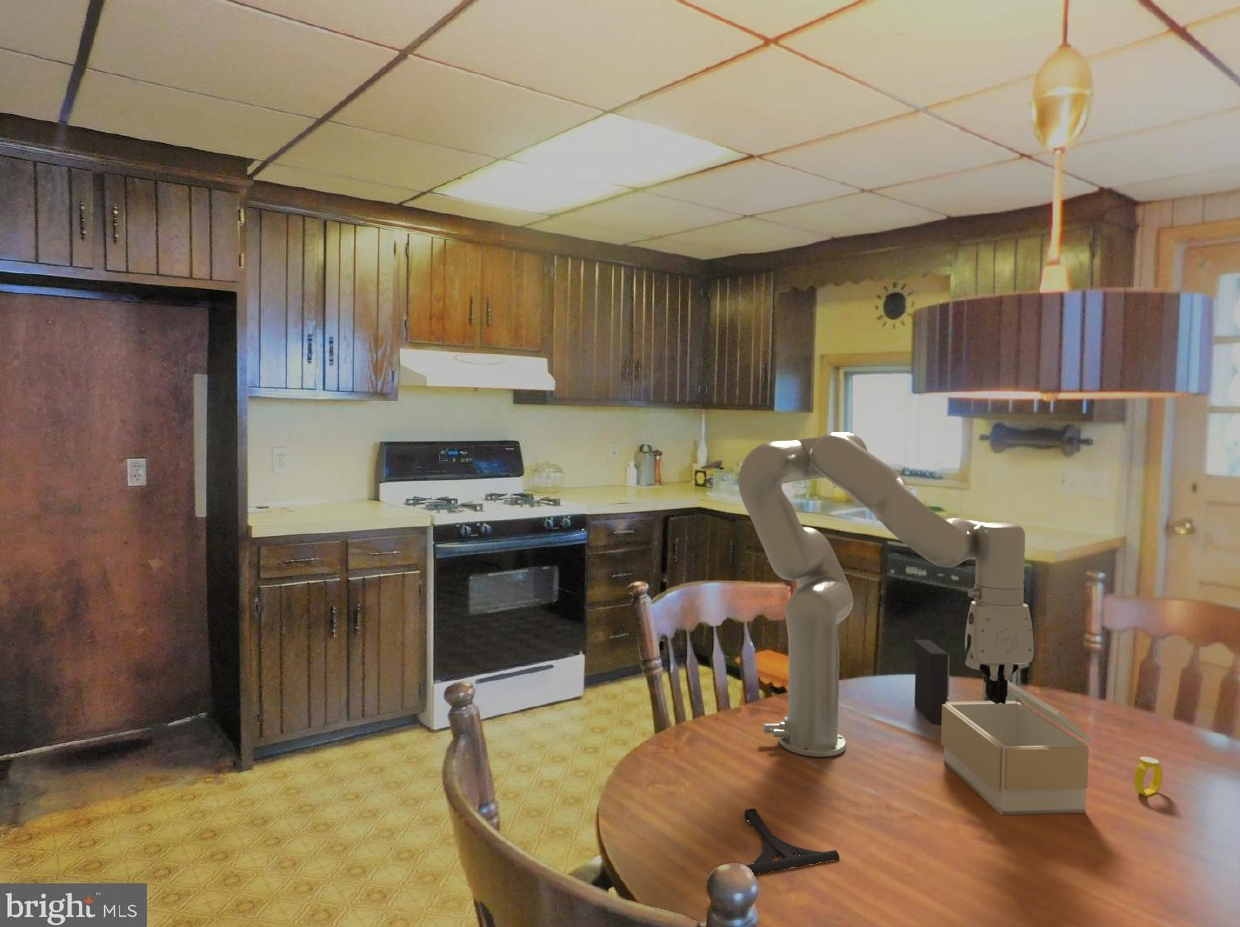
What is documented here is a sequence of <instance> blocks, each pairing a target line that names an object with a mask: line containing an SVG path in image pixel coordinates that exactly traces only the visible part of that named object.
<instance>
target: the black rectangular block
mask: <svg viewBox="0 0 1240 927" xmlns="http://www.w3.org/2000/svg"><path fill="white" fill-rule="evenodd" d="M912 644H913V646H912V656H913V658H914V660H915V671H914V672H915V674H914V675H915V676H914V679H915V680H914V707H915V708H916V709H917V710H918V711H919V713H921V714H922V715H923V716H924V717H925V719H927V721H928V722H929V723H930V724H932V725H942V704H945V702H950V700H949V698H948V697H950V678H951V677H950V674H949V673H950V672H949V671H950V655H949V653H948V652H947V651H945V650H944V649H942V648H941V647H939V645H937V644H936V643H935V642H933V641H932V640H931V639H913V643H912Z"/></svg>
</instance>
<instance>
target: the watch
mask: <svg viewBox="0 0 1240 927" xmlns="http://www.w3.org/2000/svg"><path fill="white" fill-rule="evenodd" d="M1150 767H1151V768H1152V769H1153V770H1152V773H1153V774H1152V779H1151V783H1150V784H1149V786H1148V788H1146V789H1145V788H1144V778H1145V775H1146V772H1147V771H1148V770H1149V768H1150ZM1133 777H1134V778H1133V779H1134V780H1133V785H1134V790H1135V791H1136V792H1137V793H1138V794H1139V795H1141V796H1143V795H1144V796H1143V797H1149V796H1152V795H1154V794H1155V795H1156V794H1157V793H1158V791H1159V790H1160V788H1161V785H1162V782H1163V769H1162V766H1161V763H1160V761H1159V760H1158V759H1156V758H1153V757H1149V756H1140V757H1139V764H1138V765H1137V767H1136V770H1135V772H1134V776H1133Z"/></svg>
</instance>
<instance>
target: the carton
mask: <svg viewBox="0 0 1240 927" xmlns="http://www.w3.org/2000/svg"><path fill="white" fill-rule="evenodd" d="M940 732H941V734H940V744H941V745H942V746H943V748H944V749H943V763H945V765H947V767H949V768H950V769H951V770H952V771H953V772H954V773H955V774H956V775H957V776H959V777H960V778H961V780H963V782H965V783H966V784H967V785H968V786H969V787H970V788H971V789H972V790H974V791H975V792H976V793H977V794H978V795H979V796H980V797H981V798H982V799H983V800H984V801H986V802H987V803H988V804H989V805H990V806H991V807H992V808H993V809H994V810H995V811H996V812H998V814H1000V815H1001V816H1010V815H1011V816H1012V815H1013V816H1014V815H1015V816H1016V815H1018V816H1019V815H1045V814H1046V815H1047V814H1051V815H1053V814H1056V815H1057V814H1083V813H1086V810H1087V809H1086V806H1087V805H1086V804H1087V789H1088V778H1089V777H1088V776H1089V752H1090V750H1089V749H1090V748H1089V746H1088V745H1087V744H1085V743H1084V742H1083V741H1081V740H1079V739H1078V738H1076V737H1074V735H1071V734H1070V733H1068V732H1066V731H1065V730H1063V729H1062V728H1060V727H1059V726H1057V725H1055V724H1054V723H1052V722H1051V721H1049V720H1048V719H1046V718H1044V717H1043V716H1041V715H1040V714H1038V713H1036V711H1033V710H1032V709H1030V708H1029V707H1027V706H1026V705H1024V704H1022V703H1021V702H1020V701H1019V702H1016V701H1006V703H1005V704H1001V703H999V704H995V703H994V702H992V701H983V700H982V701H981V700H979V701H978V700H977V701H973V700H971V701H949V702H945V704H942V724H941V730H940Z"/></svg>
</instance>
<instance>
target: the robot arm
mask: <svg viewBox="0 0 1240 927" xmlns="http://www.w3.org/2000/svg"><path fill="white" fill-rule="evenodd" d="M867 448H868V447H867V446H866V444H865V442H864V441H863V439H862V438H860V437H859V436H858V435H856V434H854V433H851V432H846V431H841V432H840V431H839V432H835V431H834V432H829V433H825V434H823V435H822V436H818V437H817V436H816V437H815V436H814V437H807V438H800V439H799V438H798V439H792V440H773V441H767V442H764V443H761V444H759V445H757V446H756V447H754V448H753V449H752V450H750V452H749V453H748V454H747V455H746V456H745V458H744V460H743V462H742V464H741V466H740V468H739V472H738V481H737V482H738V490H739V494H740V499H741V500H742V503H743V505H744V507H745V509H746V511H747V513H748V516H749V517H750V519H751V522H752V524H753V526H754V529H755V532H756V534H757V536H758V539H759V541H760V543H761V546H762V548H763V550H764V553H765V555H766V557H767V559H768V562H769V564H770V567H771V568H772V570H773V572H774V573H775V574H776V575H777V576H778V577H780V578H781V579H783V580H787V581H798V584H799V586H800V587H798V588H796V590H795V591H793V592H792V594H791V595H790V596H789V599H788V600H787V603H786V608H785V621H786V628H787V629H786V630H787V637H788V639H787V640H788V684H787V685H788V686H787V687H788V689H787V693H788V694H787V695H788V696H787V716H783V720H781V721H779V722H778V723H773V722H764V723H763V724H762V729H763V733H764V734H772V737H773V738H779V744H780V745H781V746H782V747H783V748H785V749H786V750H787V751H789V752H792V753H794V754H798V755H802V756H805V757H812V758H813V757H814V758H827V757H833V756H837V755H840V754H842V753H844V751H845V750H846V748H847V741H846V739H845V738H844V737H843V736H842V735H841V734H839V732H838V731H839V693H840V692H839V690H840V689H839V688H840V687H839V686H840V685H839V684H840V683H839V682H840V677H839V676H840V647H839V646H840V645H839V639H838V633H837V632H838V630H837V628H838V627H837V626H838V624H839V623H841V622H843V621H844V620H845V619H846V618H847V617H848V616H849V615H850V614H851V612H852V609H853V605H854V597H853V596H854V595H853V592H852V589H851V586H850V584H849V581H848V580H847V577H846V575H845V572H844V571H843V569H842V567H841V564H840V562H839V560H838V557H837V555H836V553H835V551H834V549H833V547H832V545H831V542H829V540H828V539H827V538H826V536H824V535H823V533H822V532H820V531H819V530H818V529H815V528H813V527H808V526H802V523H801V521H800V520H799V518H798V515H797V513H796V510H795V508H794V506H793V504H792V503H791V501H790V500H789V499H788V497H787V496H786V494H785V492H784V491H783V485H784V484H789V483H795V482H800V481H801V482H802V481H809V480H818V479H826V480H827V481H830V482H831V483H833V485H835V486H837V488H839V489H841V490H842V491H843V492H844V493H846V494H847V495H849V496H850V497H851V498H853V499H854V500H856V501H857V502H858V503H860V504H861V505H862V506H863V507H865V508H866V509H867V510H869V511H870V512H871V513H872V514H873V515H874V516H875V518H876V519H877V520H878V521H879V522H880V523H882V525H883V526H884V527H885V528H886V529H887V530H888V531H889V532H890V533H891V535H893V536H895V537H896V539H898V540H900V542H902V543H903V544H905V545H906V547H909V548H910V549H911V550H912V551H914V552H916V554H918V555H919V556H920V557H922V558H923V559H925V560H927V561H928V562H930V563H932V564H934V565H936V566H938V567H944V568H952V567H956V566H958V565H960V564H962V563H963V562H964V561H967V560H968V561H969V560H975V578H974V579H975V580H974V582H975V583H974V584H973V588H969V589H968V590H967V596H968V597H969V598H973V599H974V600H972V601H971V602H970V603H971V604H970V606H969V610H968V614H967V619H966V626H965V633H964V634H965V636H964V652H965V655H966V659H965V666H966V667H968V668H970V669H973V670H977V671H980V672H981V673H982V674H983V676H984V675H985V676H986V695H987V698H988V699H989V700H991V701H992V702H994V703H995V704H999V703H1001V704H1005V703H1006V697H1007V690H1008V681H1009V680H1010V679H1011V676H1012V675H1013V674H1014V673H1015V672H1016V670H1017V669H1021V670H1022V669H1025V668H1029V666H1030V663H1031V662H1032V661H1033V658H1034V635H1033V634H1034V633H1033V624H1032V623H1033V622H1032V617H1031V612H1030V607H1029V605H1028V603H1027V604H1026V603H1024V594H1025V592H1024V587H1025V584H1024V583H1025V561H1026V560H1025V555H1026V554H1025V552H1026V532H1025V530H1024V528H1023V527H1022V526H1021V525H1019V524H1015V523H1009V522H982V521H975V520H971V519H965V518H959V517H957V518H956V517H952V518H946V519H945V518H944V517H942V516H940V515H939V514H937V512H935V511H933V510H932V509H930V508H929V507H928V506H927V505H925V504H924V503H923V502H922V501H920V500H919V499H918V498H917V497H916V496H915V495H914V493H913V492H911V490H910V488H909V487H908V485H907V482H906V480H905V479H904V477H903V476H902V474H900V472H898V471H897V470H895V469H894V468H892V467H890V466H889V465H888V464H886V463H885V462H883V461H882V460H880V459H879V458H878V457H877V456H875V455H874V454H872V453H871V452H869V451H868V449H867ZM996 665H997V666H996Z"/></svg>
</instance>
